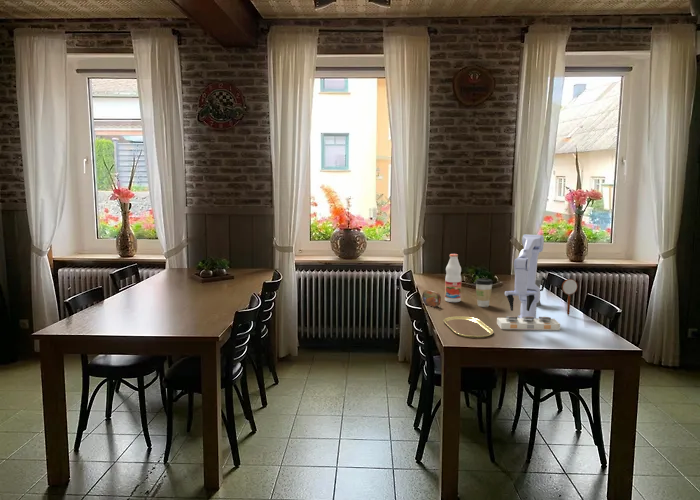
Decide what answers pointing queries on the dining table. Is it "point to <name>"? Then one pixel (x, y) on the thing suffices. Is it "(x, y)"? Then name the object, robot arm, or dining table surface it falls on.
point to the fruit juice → (453, 280)
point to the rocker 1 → (511, 317)
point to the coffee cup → (483, 291)
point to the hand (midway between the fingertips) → (519, 310)
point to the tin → (431, 298)
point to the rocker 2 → (545, 318)
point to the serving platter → (471, 320)
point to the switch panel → (528, 324)
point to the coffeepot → (538, 283)
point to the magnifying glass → (569, 290)
